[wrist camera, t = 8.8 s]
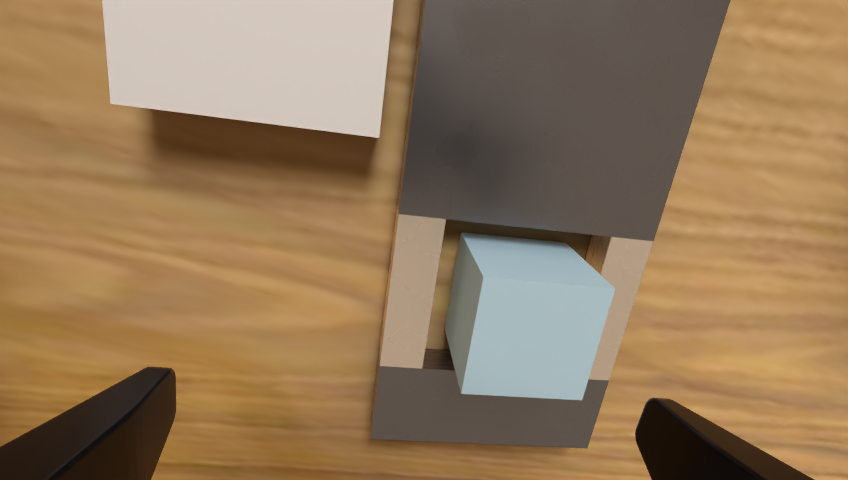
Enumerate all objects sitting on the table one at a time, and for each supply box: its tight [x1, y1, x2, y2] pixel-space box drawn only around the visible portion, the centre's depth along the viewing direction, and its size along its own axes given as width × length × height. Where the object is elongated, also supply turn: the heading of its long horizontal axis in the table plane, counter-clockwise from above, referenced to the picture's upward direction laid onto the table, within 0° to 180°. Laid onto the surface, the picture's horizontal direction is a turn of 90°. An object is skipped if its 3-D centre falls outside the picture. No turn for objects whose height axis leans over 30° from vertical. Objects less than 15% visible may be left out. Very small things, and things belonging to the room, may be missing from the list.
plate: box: [371, 0, 730, 448], centre depth 18 cm, size 10×20×2 cm, turn 172°
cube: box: [445, 232, 615, 400], centre depth 18 cm, size 4×4×4 cm
